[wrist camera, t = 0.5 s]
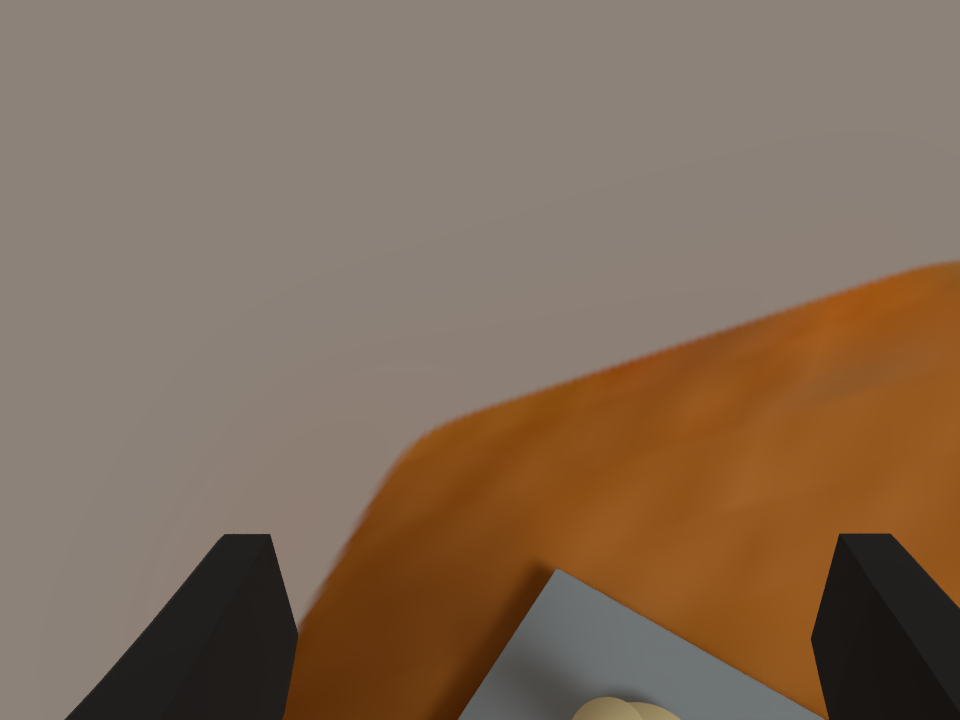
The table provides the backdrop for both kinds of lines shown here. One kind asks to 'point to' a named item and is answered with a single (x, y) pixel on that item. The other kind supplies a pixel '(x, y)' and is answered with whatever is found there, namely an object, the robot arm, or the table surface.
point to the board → (613, 669)
